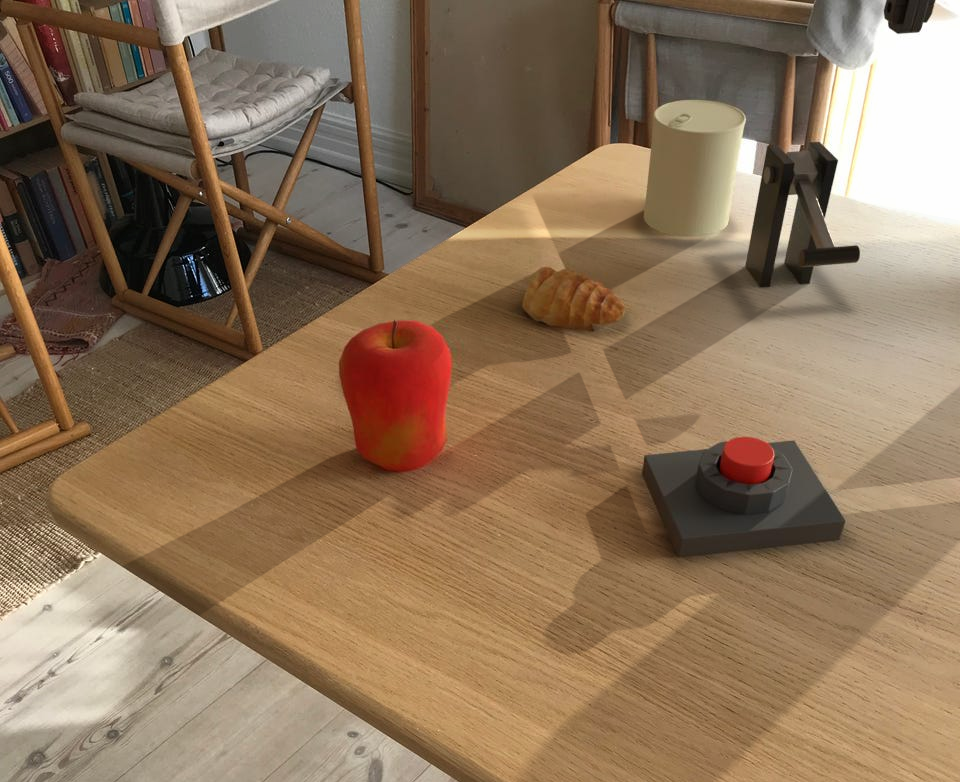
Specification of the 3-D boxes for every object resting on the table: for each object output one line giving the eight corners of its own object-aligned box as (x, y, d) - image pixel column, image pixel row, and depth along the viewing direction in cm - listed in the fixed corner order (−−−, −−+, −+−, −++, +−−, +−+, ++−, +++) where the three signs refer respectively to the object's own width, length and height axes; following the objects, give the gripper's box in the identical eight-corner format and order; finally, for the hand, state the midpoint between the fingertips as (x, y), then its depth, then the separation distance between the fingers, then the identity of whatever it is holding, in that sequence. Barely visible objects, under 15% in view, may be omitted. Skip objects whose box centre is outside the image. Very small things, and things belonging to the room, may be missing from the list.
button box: (789, 463, 82) (799, 419, 79) (838, 544, 75) (852, 500, 72) (641, 478, 81) (646, 435, 78) (677, 562, 74) (685, 518, 71)
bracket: (842, 312, 98) (877, 175, 89) (750, 321, 98) (777, 182, 88) (796, 256, 107) (824, 124, 98) (711, 262, 106) (732, 131, 97)
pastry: (635, 314, 99) (639, 275, 96) (605, 346, 95) (608, 308, 92) (547, 291, 102) (549, 253, 99) (514, 321, 98) (515, 283, 95)
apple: (395, 414, 87) (385, 281, 79) (476, 447, 84) (475, 312, 75) (327, 464, 82) (308, 327, 74) (410, 501, 79) (400, 363, 70)
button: (760, 454, 77) (764, 434, 75) (777, 483, 74) (781, 463, 73) (712, 458, 76) (716, 438, 75) (728, 488, 74) (732, 468, 73)
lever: (853, 270, 91) (864, 249, 89) (799, 274, 91) (808, 254, 89) (815, 170, 96) (824, 148, 94) (763, 174, 96) (771, 152, 94)
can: (623, 228, 112) (634, 110, 103) (678, 203, 116) (693, 87, 107) (690, 257, 107) (707, 135, 98) (745, 229, 111) (766, 110, 103)
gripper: (908, -302, 56) (833, 53, 68) (1135, -308, 57) (1021, 41, 70) (852, -312, 61) (791, 19, 74) (1061, -317, 62) (967, 9, 75)
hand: (903, 29), depth 72 cm, fingers closed
